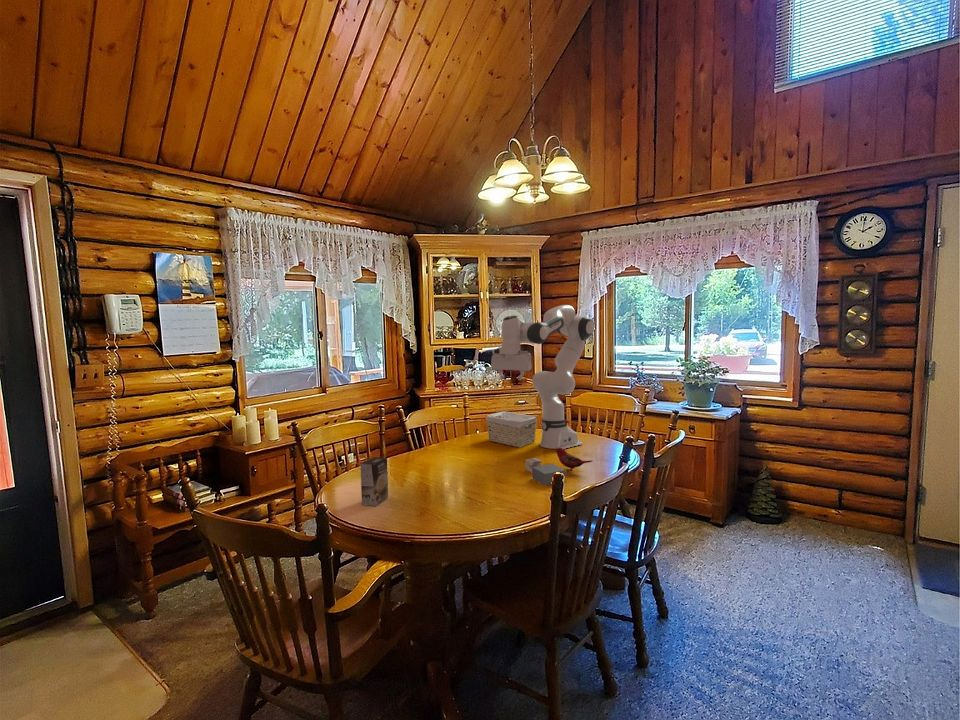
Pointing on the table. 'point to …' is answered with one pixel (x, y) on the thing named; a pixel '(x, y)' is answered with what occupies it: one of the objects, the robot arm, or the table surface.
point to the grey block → (545, 473)
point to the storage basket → (511, 428)
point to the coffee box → (374, 481)
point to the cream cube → (532, 463)
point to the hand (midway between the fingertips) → (511, 379)
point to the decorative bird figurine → (569, 459)
